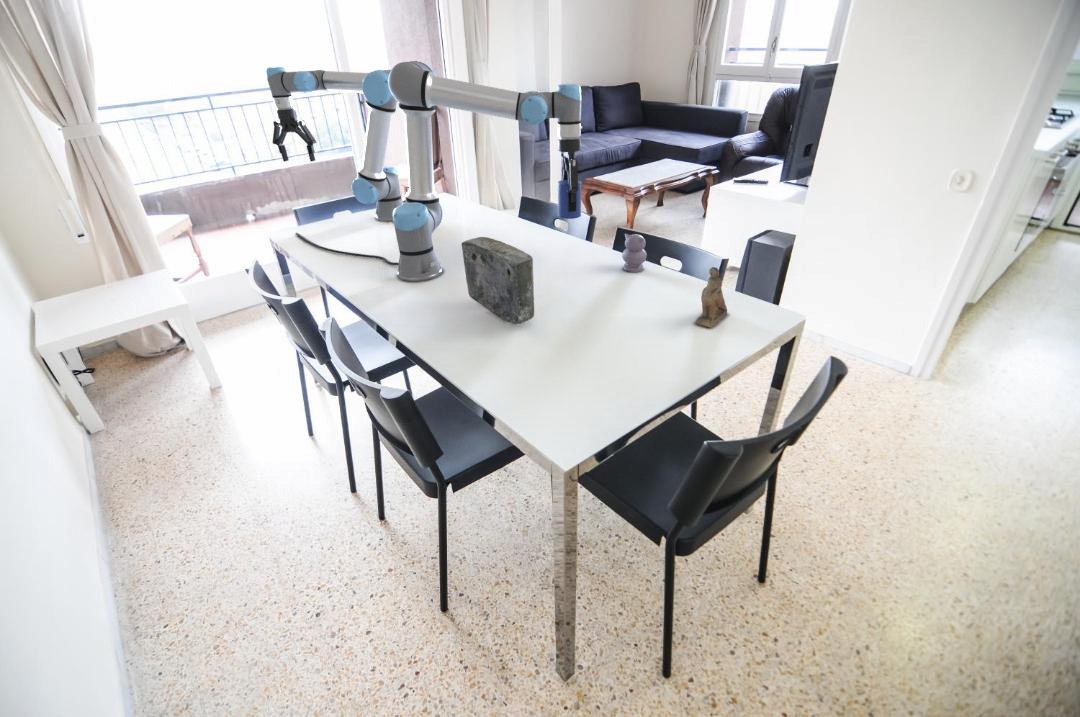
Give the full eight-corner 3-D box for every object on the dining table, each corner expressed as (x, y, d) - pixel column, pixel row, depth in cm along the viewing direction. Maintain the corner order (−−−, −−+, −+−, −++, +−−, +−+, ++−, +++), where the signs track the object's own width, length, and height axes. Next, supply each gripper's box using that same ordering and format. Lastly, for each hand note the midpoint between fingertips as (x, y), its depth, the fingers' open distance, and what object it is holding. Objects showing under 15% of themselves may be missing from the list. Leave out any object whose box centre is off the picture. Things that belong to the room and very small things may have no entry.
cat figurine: (650, 268, 173) (653, 234, 167) (637, 274, 168) (640, 240, 162) (629, 262, 178) (631, 229, 172) (616, 269, 173) (618, 235, 167)
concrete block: (541, 325, 139) (539, 257, 129) (515, 335, 135) (510, 265, 124) (492, 295, 158) (486, 233, 147) (468, 303, 153) (460, 240, 143)
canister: (555, 218, 173) (555, 184, 167) (561, 212, 180) (560, 179, 174) (578, 219, 171) (578, 184, 165) (582, 213, 178) (583, 179, 172)
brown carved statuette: (709, 335, 136) (713, 280, 124) (691, 329, 139) (693, 274, 128) (730, 313, 142) (736, 258, 130) (712, 307, 145) (716, 253, 133)
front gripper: (588, 141, 154) (587, 215, 166) (572, 133, 172) (572, 200, 183) (565, 143, 153) (565, 216, 165) (551, 134, 171) (552, 201, 182)
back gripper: (254, 109, 212) (269, 162, 223) (306, 108, 207) (319, 162, 218) (265, 108, 218) (280, 159, 229) (316, 107, 213) (328, 159, 225)
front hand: (569, 208), depth 174 cm, fingers closed on canister, 8 cm apart
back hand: (299, 161), depth 224 cm, fingers open, 13 cm apart
